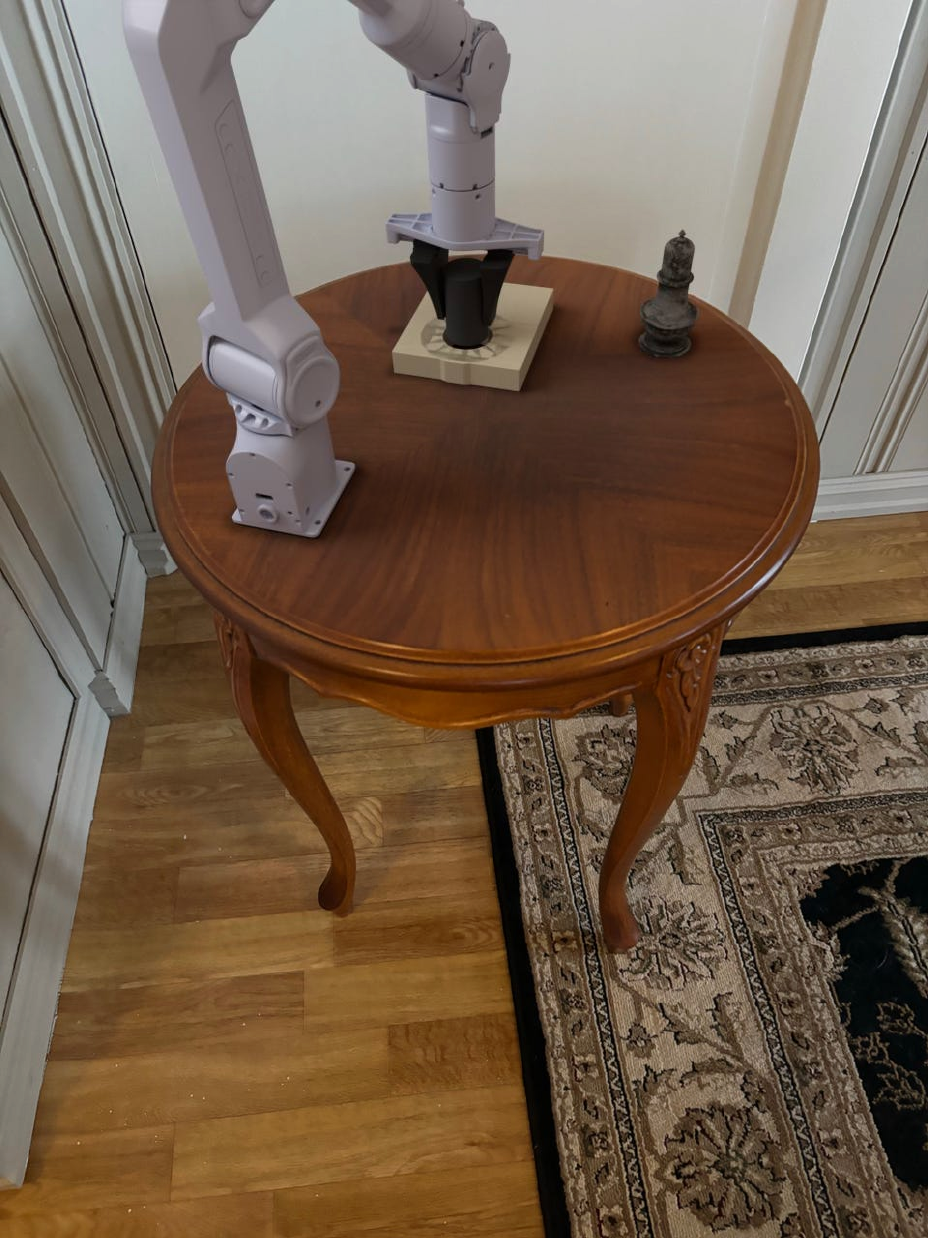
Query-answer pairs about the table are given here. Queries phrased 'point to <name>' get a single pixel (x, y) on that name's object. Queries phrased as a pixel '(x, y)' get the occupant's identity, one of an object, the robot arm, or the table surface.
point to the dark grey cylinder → (464, 302)
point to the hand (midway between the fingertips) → (466, 317)
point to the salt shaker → (671, 303)
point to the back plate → (488, 365)
